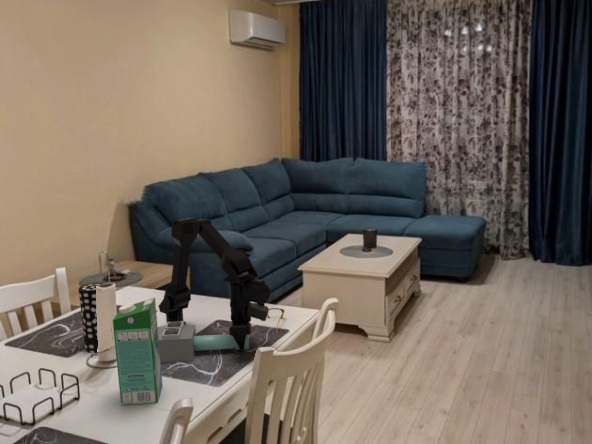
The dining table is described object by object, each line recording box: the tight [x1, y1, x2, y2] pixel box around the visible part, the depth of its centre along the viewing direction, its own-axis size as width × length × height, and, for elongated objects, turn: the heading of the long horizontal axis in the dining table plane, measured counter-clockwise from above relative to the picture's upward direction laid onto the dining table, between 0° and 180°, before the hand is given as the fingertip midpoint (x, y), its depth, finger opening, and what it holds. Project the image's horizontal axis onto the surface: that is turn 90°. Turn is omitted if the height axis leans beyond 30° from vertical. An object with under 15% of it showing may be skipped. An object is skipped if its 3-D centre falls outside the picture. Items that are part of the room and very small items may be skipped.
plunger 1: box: [169, 321, 180, 327], centre depth 173 cm, size 3×3×2 cm
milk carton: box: [112, 297, 163, 406], centre depth 145 cm, size 9×9×25 cm
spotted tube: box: [78, 282, 105, 354], centre depth 177 cm, size 8×8×20 cm
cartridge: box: [193, 333, 250, 352], centre depth 172 cm, size 20×5×5 cm, turn 94°
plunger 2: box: [166, 328, 177, 335], centre depth 167 cm, size 3×3×2 cm
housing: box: [157, 320, 197, 364], centre depth 171 cm, size 11×12×8 cm
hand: (242, 346), depth 173 cm, fingers closed on cartridge, 5 cm apart
